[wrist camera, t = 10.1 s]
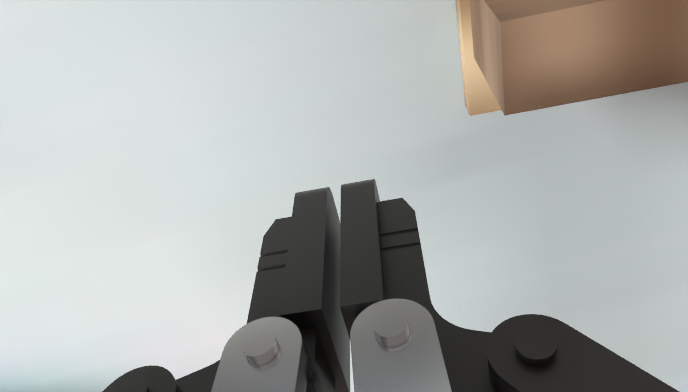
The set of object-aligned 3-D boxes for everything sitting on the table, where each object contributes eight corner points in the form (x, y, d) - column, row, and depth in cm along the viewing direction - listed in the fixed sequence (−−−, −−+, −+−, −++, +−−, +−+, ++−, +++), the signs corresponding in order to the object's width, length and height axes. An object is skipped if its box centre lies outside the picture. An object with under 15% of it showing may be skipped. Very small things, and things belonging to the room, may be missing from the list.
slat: (765, -86, 18) (886, -58, 14) (747, 3, 20) (850, 51, 16) (468, -22, 20) (500, 21, 15) (474, 57, 21) (504, 115, 17)
